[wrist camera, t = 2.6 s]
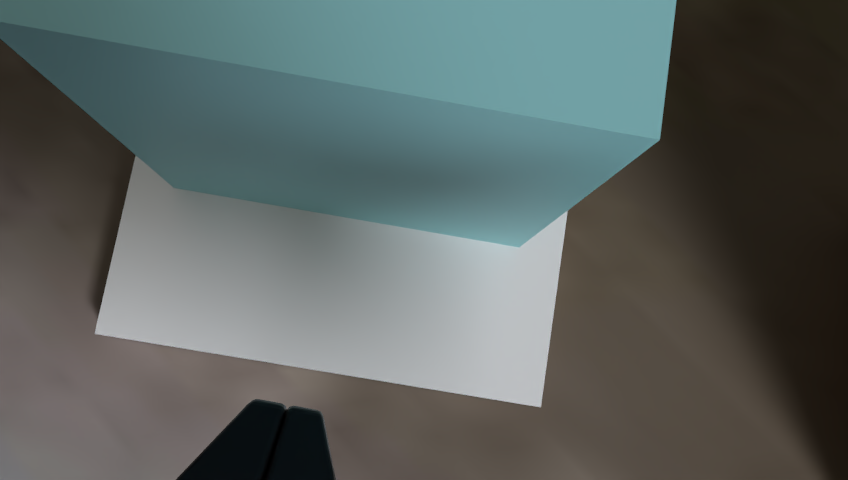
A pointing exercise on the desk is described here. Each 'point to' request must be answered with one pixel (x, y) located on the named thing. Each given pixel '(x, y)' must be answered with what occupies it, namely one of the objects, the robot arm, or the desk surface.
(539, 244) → the board
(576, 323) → the desk surface
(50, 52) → the t block
